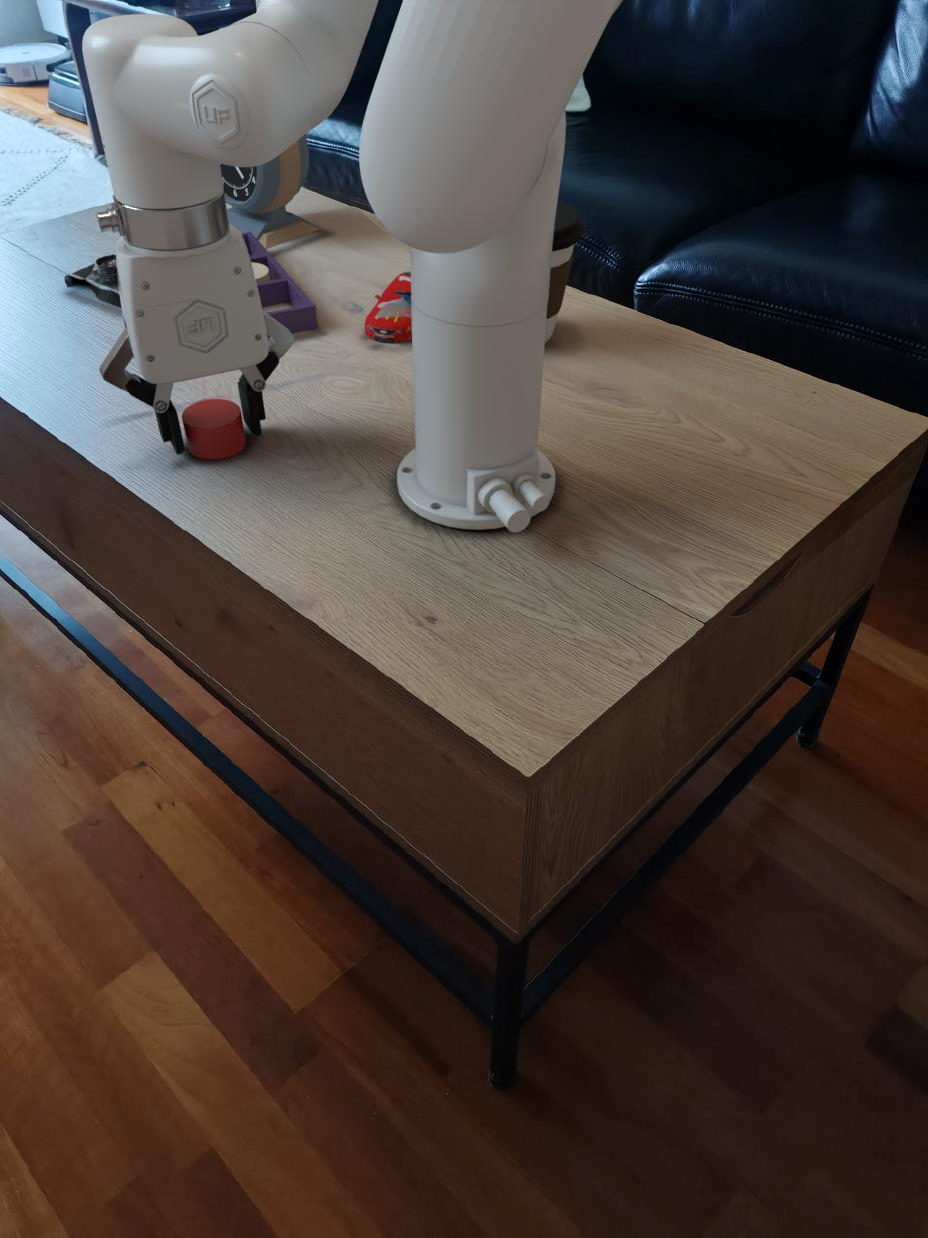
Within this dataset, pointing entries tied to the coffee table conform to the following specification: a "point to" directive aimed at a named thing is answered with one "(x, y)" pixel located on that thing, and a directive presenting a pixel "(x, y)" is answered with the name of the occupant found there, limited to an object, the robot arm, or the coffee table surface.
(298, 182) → the alarm clock
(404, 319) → the race car
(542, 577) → the coffee table surface
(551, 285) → the coffee cup
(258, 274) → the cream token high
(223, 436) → the cylinder
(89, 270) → the camera
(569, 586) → the coffee table surface
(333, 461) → the coffee table surface
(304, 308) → the board
